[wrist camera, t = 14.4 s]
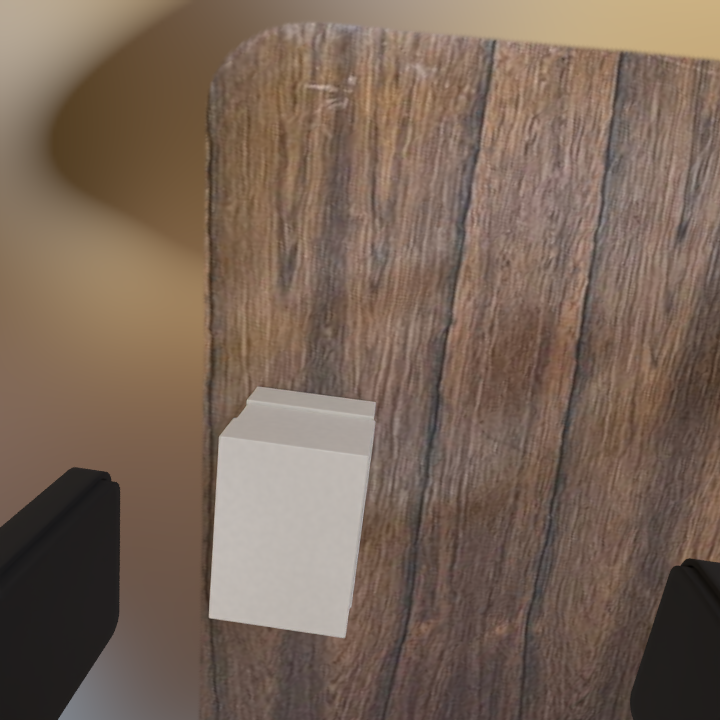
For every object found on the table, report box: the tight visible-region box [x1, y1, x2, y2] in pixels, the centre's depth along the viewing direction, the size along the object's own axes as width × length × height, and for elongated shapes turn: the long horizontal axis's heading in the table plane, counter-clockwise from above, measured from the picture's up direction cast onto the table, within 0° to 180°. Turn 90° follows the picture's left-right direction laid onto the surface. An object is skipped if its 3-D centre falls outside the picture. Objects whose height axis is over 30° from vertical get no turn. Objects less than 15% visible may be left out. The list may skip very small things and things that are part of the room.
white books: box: [237, 387, 376, 608], centre depth 33 cm, size 10×7×5 cm
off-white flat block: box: [209, 418, 372, 638], centre depth 30 cm, size 10×7×2 cm
